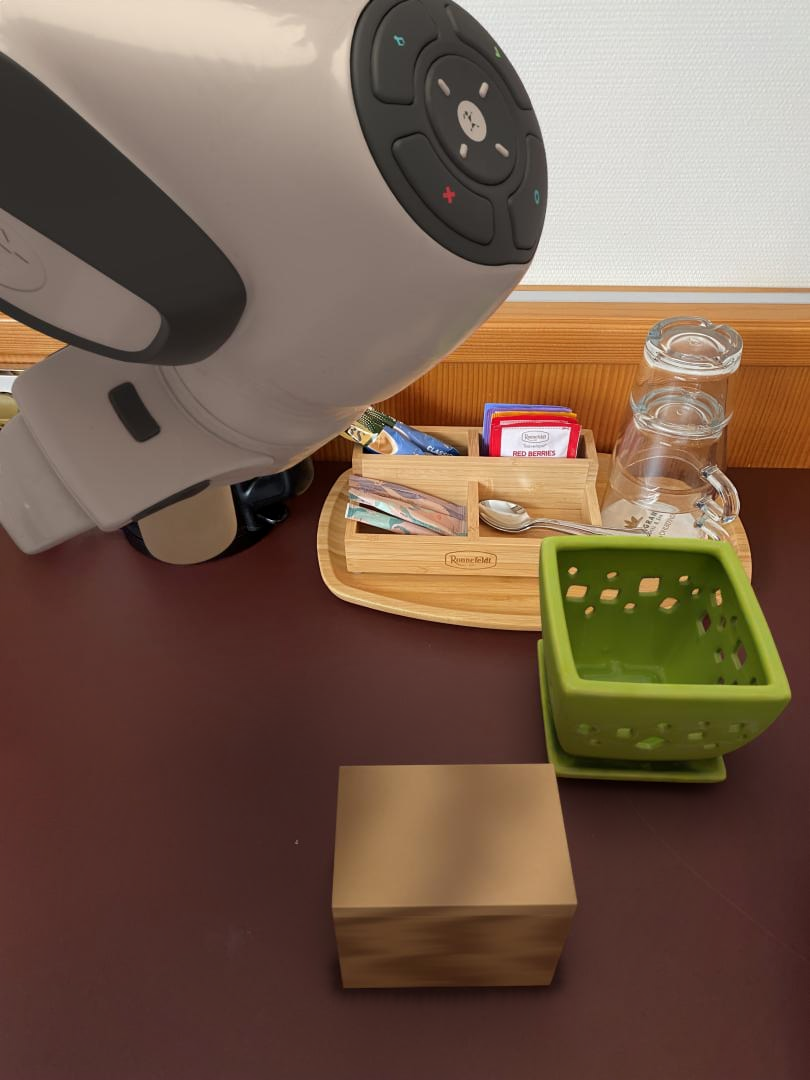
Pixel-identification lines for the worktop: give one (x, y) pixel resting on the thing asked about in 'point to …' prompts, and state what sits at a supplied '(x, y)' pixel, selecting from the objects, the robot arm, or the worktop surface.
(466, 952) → the wooden crate-shaped block
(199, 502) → the candle
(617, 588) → the flower pot
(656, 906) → the worktop surface
